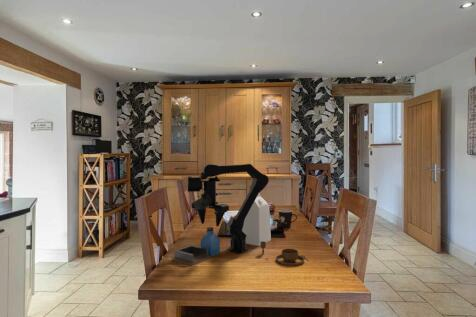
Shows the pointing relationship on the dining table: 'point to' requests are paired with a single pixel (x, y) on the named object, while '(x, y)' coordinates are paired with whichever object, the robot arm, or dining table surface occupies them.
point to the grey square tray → (191, 255)
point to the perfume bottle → (211, 242)
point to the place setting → (287, 256)
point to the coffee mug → (286, 218)
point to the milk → (257, 223)
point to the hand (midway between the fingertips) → (210, 224)
